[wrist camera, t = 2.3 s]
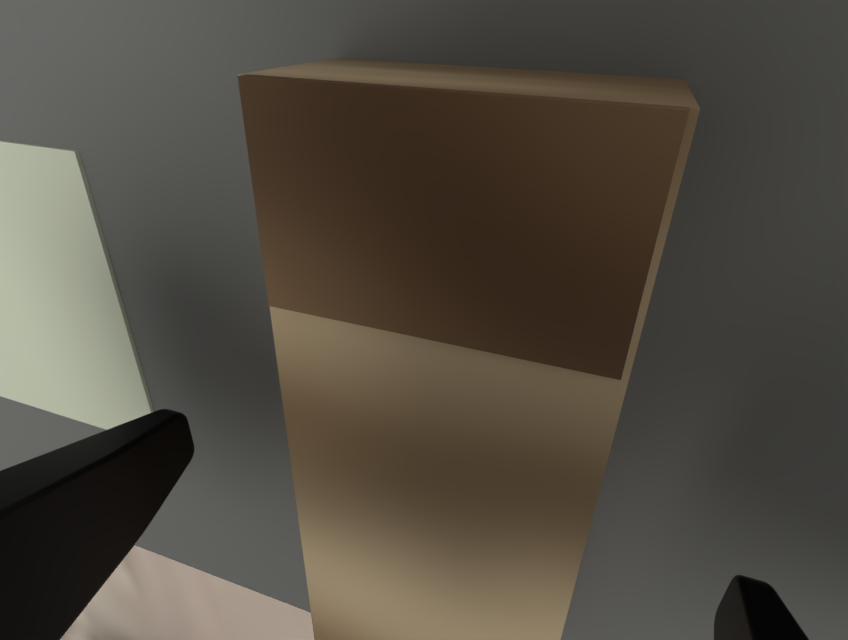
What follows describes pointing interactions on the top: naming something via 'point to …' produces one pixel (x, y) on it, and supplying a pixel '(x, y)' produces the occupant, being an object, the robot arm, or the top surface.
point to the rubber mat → (250, 312)
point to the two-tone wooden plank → (455, 324)
